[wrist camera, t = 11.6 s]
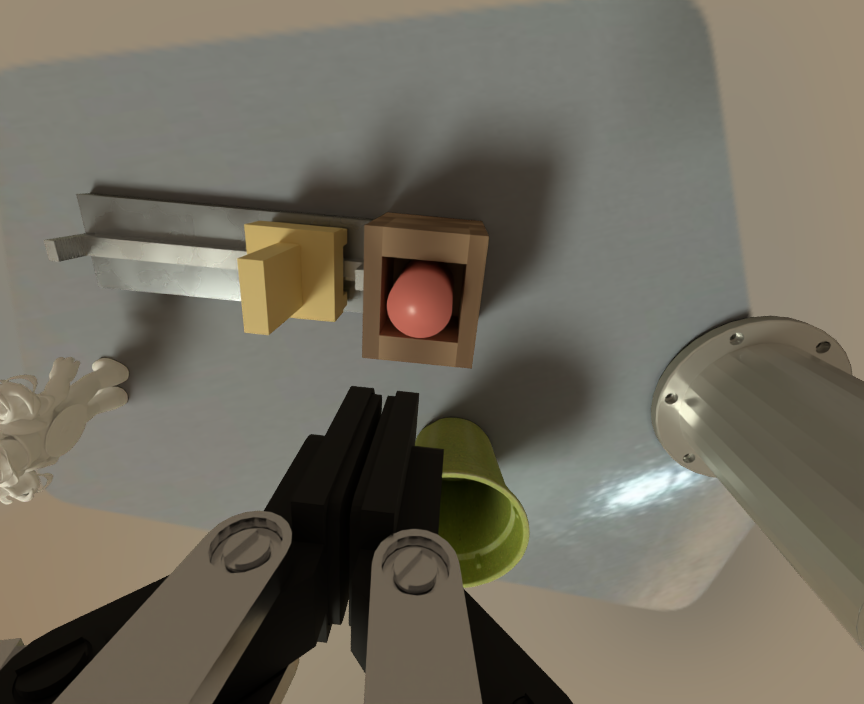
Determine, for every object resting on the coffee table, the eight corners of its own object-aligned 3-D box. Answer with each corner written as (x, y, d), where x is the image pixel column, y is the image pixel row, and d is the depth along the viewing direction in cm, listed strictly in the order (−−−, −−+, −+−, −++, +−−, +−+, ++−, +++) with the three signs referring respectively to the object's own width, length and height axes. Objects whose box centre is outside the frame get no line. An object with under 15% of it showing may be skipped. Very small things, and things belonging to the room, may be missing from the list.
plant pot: (525, 407, 31) (547, 486, 24) (499, 502, 35) (511, 599, 27) (402, 388, 31) (382, 461, 24) (389, 485, 35) (369, 577, 27)
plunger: (456, 258, 24) (455, 278, 20) (450, 310, 26) (448, 340, 21) (401, 253, 24) (388, 271, 20) (398, 305, 26) (385, 334, 21)
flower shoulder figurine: (133, 434, 35) (-18, 556, 24) (86, 418, 34) (-91, 533, 23) (145, 341, 31) (-26, 434, 20) (92, 322, 31) (-112, 405, 20)
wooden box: (481, 221, 26) (489, 236, 20) (469, 325, 29) (471, 368, 23) (387, 212, 26) (364, 225, 20) (383, 317, 29) (362, 357, 23)
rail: (379, 219, 27) (366, 227, 23) (376, 309, 29) (364, 329, 25) (89, 193, 27) (31, 196, 23) (110, 283, 30) (60, 299, 26)
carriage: (347, 226, 26) (303, 246, 19) (347, 307, 28) (308, 353, 21) (267, 218, 26) (193, 236, 19) (272, 299, 28) (208, 343, 21)
